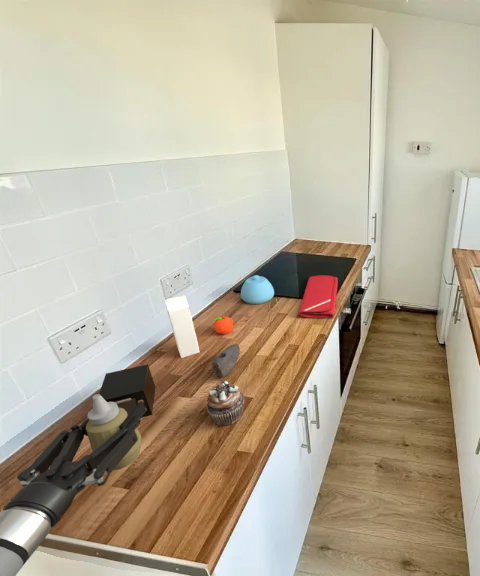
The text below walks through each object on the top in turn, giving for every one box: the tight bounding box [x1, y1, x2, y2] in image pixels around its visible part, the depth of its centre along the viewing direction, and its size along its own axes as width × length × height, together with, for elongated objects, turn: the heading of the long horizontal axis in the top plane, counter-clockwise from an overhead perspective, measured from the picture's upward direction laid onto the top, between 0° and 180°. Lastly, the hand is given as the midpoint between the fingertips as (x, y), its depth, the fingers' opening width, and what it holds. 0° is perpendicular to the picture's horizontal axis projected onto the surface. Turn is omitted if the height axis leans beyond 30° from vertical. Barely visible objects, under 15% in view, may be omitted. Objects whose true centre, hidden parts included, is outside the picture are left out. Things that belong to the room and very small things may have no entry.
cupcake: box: [206, 379, 245, 427], centre depth 90 cm, size 10×10×10 cm
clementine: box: [212, 315, 234, 335], centre depth 127 cm, size 8×7×7 cm
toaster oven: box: [98, 364, 157, 419], centre depth 91 cm, size 10×13×9 cm
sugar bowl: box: [240, 274, 275, 305], centre depth 153 cm, size 15×15×12 cm
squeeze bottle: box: [86, 393, 142, 471], centre depth 67 cm, size 8×8×18 cm
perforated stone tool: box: [211, 343, 241, 379], centre depth 109 cm, size 15×5×7 cm, turn 175°
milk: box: [164, 295, 201, 359], centre depth 112 cm, size 6×6×22 cm
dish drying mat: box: [298, 274, 339, 319], centre depth 159 cm, size 16×41×4 cm, turn 5°
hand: (125, 406), depth 71 cm, fingers closed on squeeze bottle, 6 cm apart
